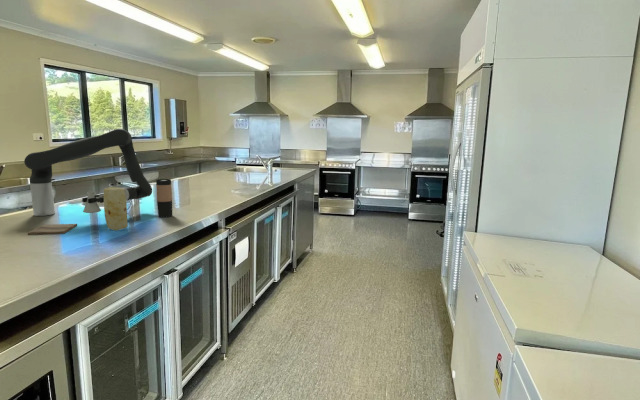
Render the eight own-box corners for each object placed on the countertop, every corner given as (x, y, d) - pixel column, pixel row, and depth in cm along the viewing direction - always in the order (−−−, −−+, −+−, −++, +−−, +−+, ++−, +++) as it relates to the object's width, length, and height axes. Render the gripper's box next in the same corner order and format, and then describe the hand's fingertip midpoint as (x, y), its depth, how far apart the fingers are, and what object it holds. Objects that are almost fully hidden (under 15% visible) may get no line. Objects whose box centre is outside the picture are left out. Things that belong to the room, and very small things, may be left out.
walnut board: (43, 226, 174) (43, 224, 174) (77, 225, 177) (76, 223, 177) (27, 234, 161) (27, 232, 160) (64, 233, 164) (63, 231, 164)
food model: (130, 227, 177) (127, 186, 173) (125, 231, 170) (122, 188, 167) (108, 227, 176) (105, 186, 172) (102, 231, 169) (99, 188, 165)
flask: (92, 214, 177) (91, 193, 175) (79, 212, 178) (78, 192, 177) (104, 211, 184) (102, 191, 182) (91, 209, 185) (90, 190, 184)
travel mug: (154, 216, 200) (152, 180, 196) (165, 213, 207) (163, 178, 203) (165, 218, 197) (163, 181, 193) (176, 215, 204) (174, 179, 200)
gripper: (107, 187, 195) (74, 191, 179) (126, 189, 190) (95, 194, 174) (107, 201, 196) (76, 206, 181) (127, 204, 191) (96, 210, 176)
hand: (85, 200), depth 177 cm, fingers closed on flask, 3 cm apart
